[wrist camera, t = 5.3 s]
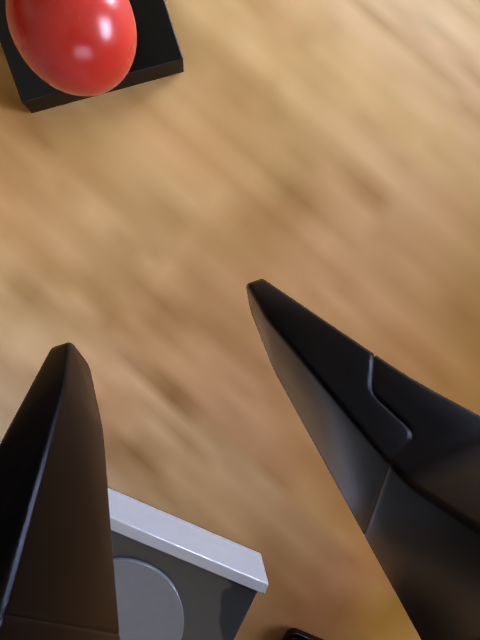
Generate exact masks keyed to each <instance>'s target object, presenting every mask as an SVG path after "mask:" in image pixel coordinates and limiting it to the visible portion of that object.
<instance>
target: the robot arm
mask: <svg viewBox="0 0 480 640" xmlns="http://www.w3.org/2000/svg"><path fill="white" fill-rule="evenodd" d="M246 289H247V294H248V299H249V305H250V309H251V313H252V316H253V319H254V321H255V324H256V326H257V329H258V331H259V334H260V336H261V339H262V342H263V344H264V347H265V349H266V352H267V354H268V357H269V359H270V362H271V364H272V366H273V369H274V371H275V373H276V375H277V377H278V379H279V380H280V382H281V384H282V386H283V388H284V389H285V391H286V393H287V395H288V397H289V399H290V400H291V402H292V404H293V406H294V408H295V410H296V411H297V413H298V415H299V417H300V419H301V420H302V422H303V424H304V426H305V428H306V430H307V431H308V433H309V435H310V437H311V439H312V441H313V442H314V444H315V446H316V448H317V450H318V452H319V453H320V455H321V457H322V459H323V461H324V462H325V464H326V466H327V468H328V470H329V472H330V473H331V475H332V477H333V479H334V481H335V483H336V484H337V486H338V488H339V490H340V492H341V493H342V495H343V497H344V499H345V501H346V503H347V504H348V506H349V508H350V510H351V512H352V514H353V515H354V517H355V519H356V521H357V523H358V525H359V526H360V528H361V530H362V532H363V534H365V537H366V539H367V541H368V543H369V545H370V547H371V548H372V550H373V552H374V554H375V556H376V558H377V559H378V561H379V563H380V565H381V567H382V568H383V570H384V572H385V574H386V576H387V578H388V579H389V581H390V583H391V585H392V587H393V589H394V590H395V592H396V594H397V596H398V598H399V599H400V601H401V603H402V605H403V607H404V609H405V610H406V612H407V614H408V616H409V618H410V620H411V621H412V623H413V625H414V627H415V629H416V630H417V632H418V634H419V636H420V638H421V639H422V640H480V416H479V415H477V414H475V413H473V412H471V411H470V410H468V409H466V408H464V407H462V406H460V405H458V404H457V403H455V402H453V401H451V400H449V399H447V398H445V397H444V396H442V395H440V394H438V393H436V392H434V391H433V390H431V389H429V388H427V387H425V386H424V385H422V384H420V383H418V382H417V381H415V380H413V379H411V378H410V377H408V376H407V375H405V374H404V373H402V372H400V371H399V370H397V369H396V368H394V367H393V366H391V365H390V364H388V363H387V362H385V361H384V360H382V359H381V358H379V357H378V356H374V354H373V353H372V352H370V351H369V350H367V349H366V348H364V347H363V346H361V345H360V344H358V343H357V342H355V341H354V340H353V339H351V338H350V337H348V336H347V335H345V334H344V333H342V332H341V331H339V330H338V329H336V328H335V327H333V326H332V325H330V324H329V323H327V322H326V321H324V320H323V319H322V318H320V317H319V316H317V315H316V314H314V313H313V312H311V311H310V310H308V309H307V308H305V307H304V306H302V305H301V304H299V303H298V302H296V301H295V300H293V299H292V298H291V297H289V296H288V295H286V294H285V293H283V292H282V291H280V290H279V289H277V288H276V287H274V286H273V285H271V284H270V283H268V282H267V281H265V280H264V279H259V280H256V281H253V282H250V283H248V284H247V286H246ZM118 633H119V623H118V610H117V598H116V586H115V573H114V561H113V548H112V536H111V524H110V511H109V499H108V487H107V474H106V462H105V449H104V438H103V429H102V424H101V418H100V414H99V409H98V404H97V400H96V395H95V390H94V385H93V381H92V376H91V371H90V368H89V366H88V364H87V362H86V361H85V359H84V358H83V357H82V355H81V354H80V353H79V351H78V350H77V349H76V347H75V346H74V345H73V344H72V343H65V344H62V345H59V346H56V347H53V348H52V349H51V350H50V352H49V354H48V356H47V357H46V359H45V361H44V363H43V365H42V367H41V369H40V370H39V372H38V374H37V376H36V378H35V380H34V382H33V383H32V385H31V387H30V389H29V391H28V393H27V395H26V397H25V398H24V400H23V402H22V404H21V406H20V408H19V410H18V411H17V413H16V415H15V417H14V419H13V421H12V423H11V424H10V426H9V428H8V430H7V432H6V434H5V436H4V438H3V439H2V441H1V443H0V640H120V635H119V634H118ZM292 638H296V639H295V640H323V639H321V638H318V637H316V636H313V635H311V634H309V633H306V632H304V631H301V630H299V629H296V628H291V629H289V630H288V631H287V632H286V633H285V635H284V637H283V639H282V640H291V639H292Z"/></svg>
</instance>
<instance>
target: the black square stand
mask: <svg viewBox="0 0 480 640" xmlns="http://www.w3.org/2000/svg"><path fill="white" fill-rule="evenodd" d="M129 2H130V4H131V7H132V10H133V14H134V17H135V22H136V29H137V47H136V53H135V58H134V61H133V64H132V66H131V68H130V70H129V72H128V74H127V75H126V77H125V78H124V79H123V80H122V81H121V82H120V83H119V84H118V85H117V86H116V87H114V88H113V89H111V90H110V91H108V92H111V91H114V90H118V89H122V88H125V87H129V86H133V85H136V84H140V83H144V82H147V81H151V80H155V79H158V78H162V77H166V76H169V75H173V74H177V73H180V72H183V71H184V68H183V57H182V54H181V51H180V48H179V45H178V41H177V38H176V35H175V32H174V29H173V26H172V23H171V20H170V17H169V14H168V11H167V8H166V4H165V1H164V0H129ZM0 42H1V44H2V47H3V50H4V53H5V56H6V59H7V61H8V64H9V67H10V70H11V73H12V76H13V78H14V81H15V84H16V87H17V90H18V92H19V95H20V98H21V101H22V103H23V104H24V105H25V106H26V107H27V109H28V110H29V111H30V112H31V113H34V112H37V111H41V110H45V109H48V108H52V107H56V106H59V105H63V104H67V103H70V102H74V101H78V100H81V99H85V98H89V97H92V96H76V95H71V94H68V93H65V92H63V91H60V90H58V89H56V88H54V87H52V86H51V85H49V84H48V83H46V82H45V81H44V80H42V79H41V78H40V77H39V76H38V75H37V74H36V73H35V72H34V71H33V70H32V69H31V68H30V67H29V66H28V64H27V63H26V62H25V60H24V59H23V58H22V56H21V55H20V53H19V51H18V49H17V47H16V46H15V44H14V41H13V39H12V36H11V33H10V30H9V27H8V23H7V17H6V0H0ZM106 93H107V92H106ZM95 96H96V95H95Z"/></svg>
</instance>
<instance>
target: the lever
mask: <svg viewBox="0 0 480 640" xmlns="http://www.w3.org/2000/svg"><path fill="white" fill-rule="evenodd" d="M6 17H7V23H8V27H9V30H10V33H11V36H12V39H13V41H14V44H15V46H16V47H17V49H18V51H19V53H20V55H21V56H22V58H23V59H24V60H25V62H26V63H27V64H28V66H29V67H30V68H31V69H32V70H33V71H34V72H35V73H36V74H37V75H38V76H39V77H40V78H41V79H42V80H44V81H45V82H46V83H48V84H49V85H51V86H52V87H54V88H56V89H58V90H60V91H63V92H65V93H68V94H71V95H76V96H95V95H100V94H103V93H106V92H108V91H110V90H111V89H113V88H114V87H116V86H117V85H118V84H119V83H120V82H121V81H122V80H123V79H124V78H125V77H126V75H127V74H128V72H129V70H130V68H131V66H132V64H133V61H134V58H135V53H136V47H137V29H136V22H135V17H134V14H133V10H132V7H131V4H130V2H129V0H6Z"/></svg>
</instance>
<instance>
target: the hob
mask: <svg viewBox="0 0 480 640" xmlns="http://www.w3.org/2000/svg"><path fill="white" fill-rule="evenodd" d="M0 443H1V441H0ZM108 499H109V511H110V524H111V536H112V548H113V561H114V573H115V586H116V598H117V610H118V623H119V633H118V634H119V635H120V640H234V638H235V636H236V634H237V632H238V630H239V627H240V625H241V623H242V621H243V619H244V617H245V615H246V613H247V611H248V609H249V607H250V605H251V603H252V601H253V599H254V597H255V595H256V593H257V591H258V592H260V593H263V594H264V593H265V591H266V589H267V587H268V585H269V584H268V580H267V576H266V572H265V568H264V564H263V561H262V557H261V554H260V553H258V552H256V551H254V550H251V549H249V548H247V547H244V546H242V545H240V544H237V543H235V542H233V541H230V540H228V539H226V538H223V537H221V536H219V535H216V534H214V533H212V532H210V531H207V530H205V529H203V528H200V527H198V526H196V525H193V524H191V523H189V522H186V521H184V520H182V519H179V518H177V517H175V516H172V515H170V514H168V513H166V512H163V511H161V510H159V509H156V508H154V507H152V506H149V505H147V504H145V503H142V502H140V501H138V500H135V499H133V498H131V497H128V496H126V495H124V494H121V493H119V492H117V491H115V490H112V489H110V488H108Z"/></svg>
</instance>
